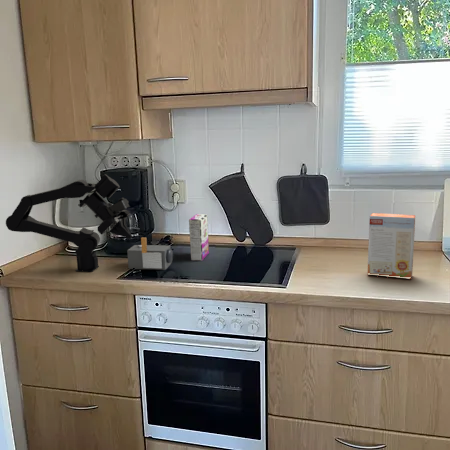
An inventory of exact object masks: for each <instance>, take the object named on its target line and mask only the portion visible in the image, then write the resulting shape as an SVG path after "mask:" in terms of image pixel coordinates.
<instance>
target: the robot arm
mask: <svg viewBox="0 0 450 450" xmlns="http://www.w3.org/2000/svg"><path fill="white" fill-rule="evenodd" d="M119 189H120V185H119V183H118V182H117V181H116V180H115V179H113V178H112V177H110V176H109V175H107V174H104V175H103V176H102V177H101V179H100V180H98V181H97V183H89V182H88V181H86V180H84V179H77V180H75V181H73V182H70V183H68V184H66V185H65V186H62V187H59V188H58V187H57V188H54V189H51V190H46V191H43V192H38V193H34V194H27V195H25V196H23V197H22V198H21V199H20V202H19V203H18V205H17V206H16V208H15V209H14V211H13V212H12V214H11V215H9V216H7V217H6V220H5V227H7V229H8V230H9V231H11V232H18V233H35V234H39V235H42V236H45V237H50V238H54V239H57V240H60V241H61V240H62V241H64V242H69V243H72V244H73V245H75V246H76V247H77V248H76V249H75V250H74V252H75V255H76V267H77V268H76V269H75V272H86V273H87V272H94V271H96V270H97V269H99V267H100V266H99V259H98V258H99V257H98V256H97V252H96V251H95V249H96V248H97V247H98V245H99V244H100V242H101V237H100V235H104V234H105V233H106V231H107V230H108V229H110V230H109V231H108V232H109V233H110V234H114V235H118V236H120V237H123V238H126V239H129V240H131V239H132V238H133V235H132V233H131V231H130V230H129V228H128V226H127V224H126V223H127V222H126V220H127V218H128V217H129V216H130V215H131V211H130V212H129V210H127V208H130V207H131V206H130V204H129V200H128V199H127V198H125V197H121V198H118V199H117V202H116V203H114V204H113V203H112V202H107V201H106V200H105V199H106V198H107V199H110V198H111V197H112V196H113V194H115V193H116V192H117V191H118V190H119ZM90 193H91V194H90ZM86 194H87V195H86ZM84 196H85V197H84ZM83 197H84V198H83ZM78 198H83V199H79V205H78V207H79V208H84V207H85V206H86V207H87V208H89V210H91V211H92V213H94V217H95V218H96V219H97V218H99V219H100V220H101V221H102V222H101V223H100V224H99V225H98V226H97V232H98V233H97V232H95V230H94V229H88V228H86V227H82V228H81V229H80V230H73V229H69V228H66V227H62V226H59V225H55V224H51V223H47V222H44V221H39V220H37V219H35V218H34V217H32V216H31V215H30V214H31V212H32V209H33V206H36V205H41V204H45V203H49V202H53V201H56V200H61V199H78ZM99 234H100V235H99Z"/></svg>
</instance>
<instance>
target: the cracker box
mask: <svg viewBox="0 0 450 450" xmlns="http://www.w3.org/2000/svg"><path fill="white" fill-rule="evenodd" d="M415 226H416V215H415V214H401V213H399V214H398V213H380V212H379V213H376V212H375V213H373V212H372V213H371V214H370V215H369V225H368V249H367V274H368V273H370V274H379V275H389V276H400V277H412V278H413V270H414V268H413V267H414V253H415V251H414V250H415V249H414V248H415V234H416V233H415V231H416V227H415Z"/></svg>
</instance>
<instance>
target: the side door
mask: <svg viewBox="0 0 450 450" xmlns="http://www.w3.org/2000/svg"><path fill="white" fill-rule="evenodd" d="M140 245H141V247H142V258H143V268H159V269H162V252H147V245H148V243H147V237H143V236H142V237H140Z"/></svg>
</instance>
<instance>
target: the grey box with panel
mask: <svg viewBox="0 0 450 450" xmlns="http://www.w3.org/2000/svg"><path fill="white" fill-rule="evenodd" d="M126 251H127V264H128V265H127V267H128V268H129V270H163V271H165V270H167V269H168V268H169V267H170V266H171V265H172V263H173V259H174V253H173V249H171V245H163V244H162V245H159V244H158V245H157V244H155V245H150V244H147V252H162V269H159V268H143V258H142V247H141V244H134V245H132V246H131V247H130V248H128V249H126ZM133 268H135V269H133Z"/></svg>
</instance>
